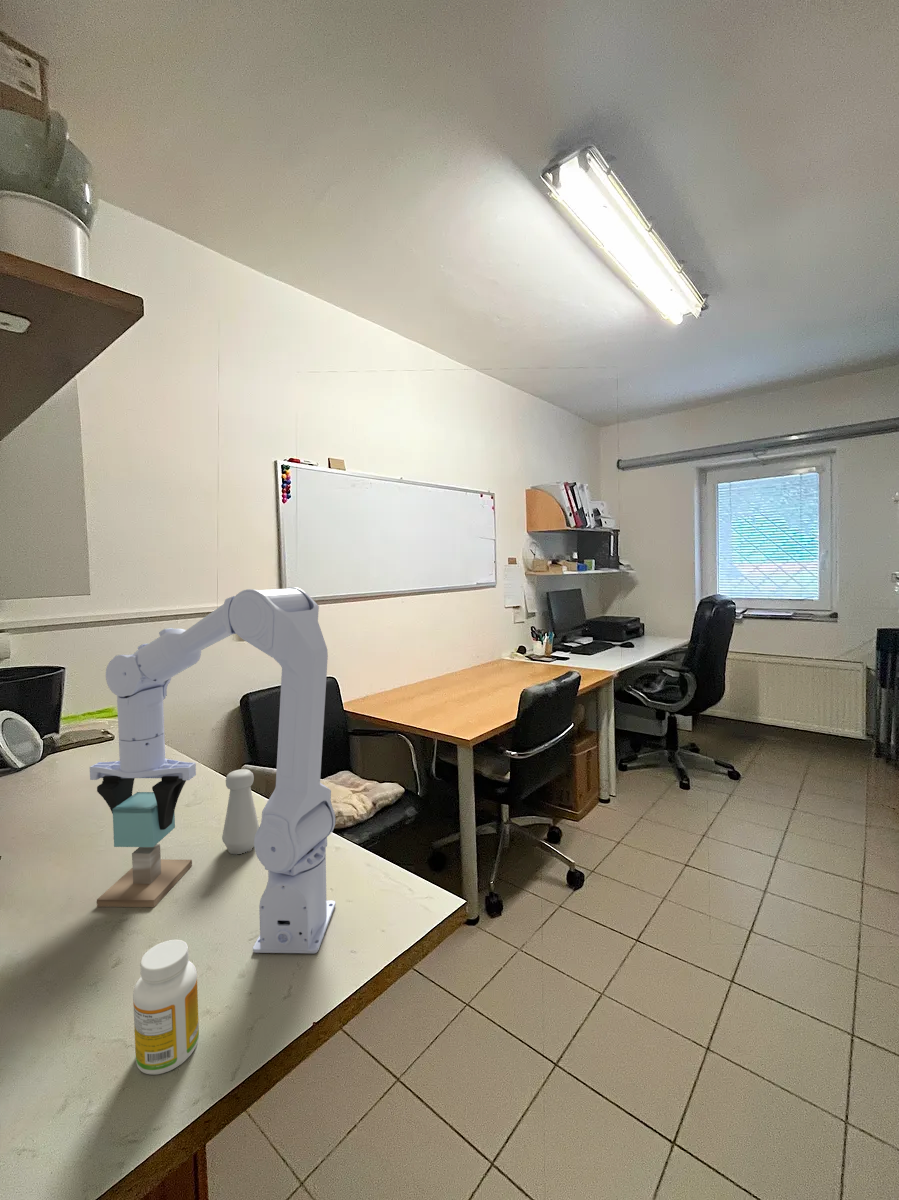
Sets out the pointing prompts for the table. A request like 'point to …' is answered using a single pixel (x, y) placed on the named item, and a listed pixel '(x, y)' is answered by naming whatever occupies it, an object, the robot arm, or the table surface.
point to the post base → (145, 890)
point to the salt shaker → (240, 813)
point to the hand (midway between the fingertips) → (145, 826)
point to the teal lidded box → (138, 822)
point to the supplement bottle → (165, 1008)
